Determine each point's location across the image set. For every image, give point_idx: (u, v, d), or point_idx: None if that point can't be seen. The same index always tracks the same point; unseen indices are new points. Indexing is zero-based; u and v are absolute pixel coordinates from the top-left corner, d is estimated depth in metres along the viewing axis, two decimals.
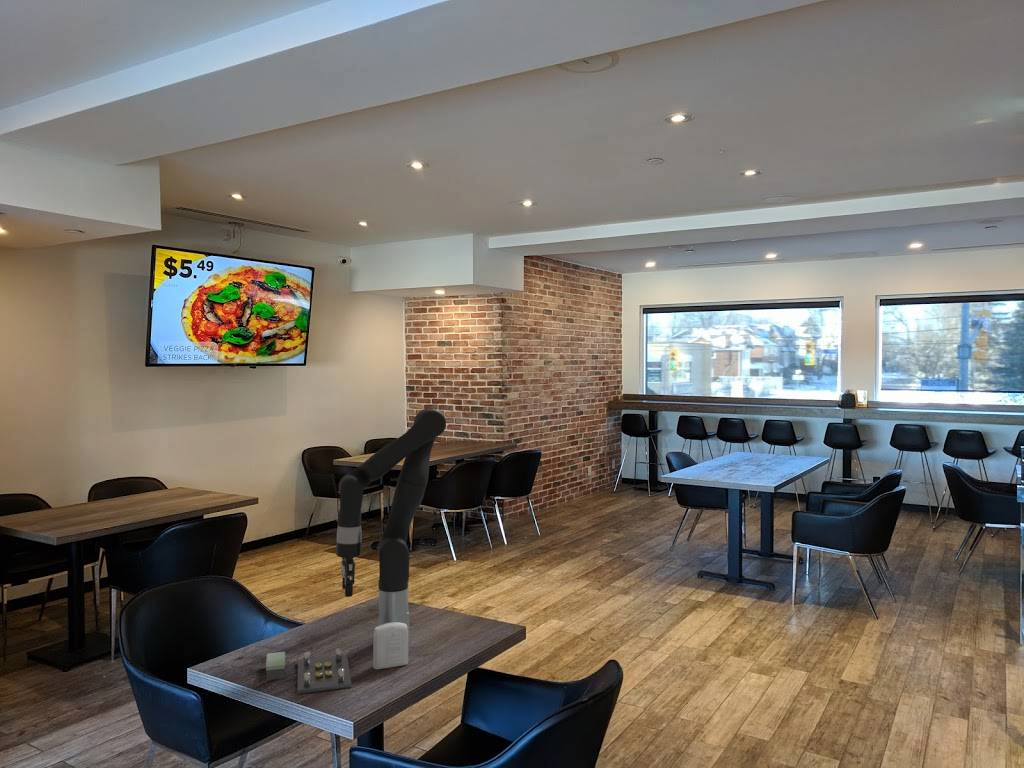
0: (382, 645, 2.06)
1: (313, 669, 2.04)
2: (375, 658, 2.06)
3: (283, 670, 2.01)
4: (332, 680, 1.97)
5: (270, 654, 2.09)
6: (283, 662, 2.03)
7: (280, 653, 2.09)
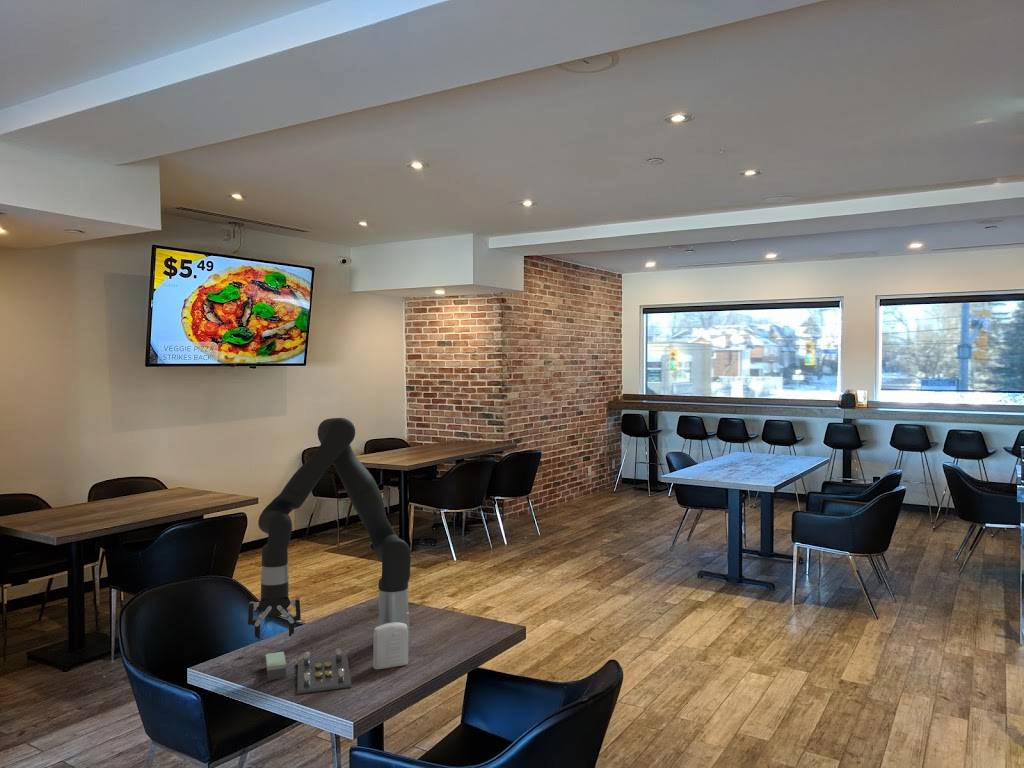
0: (382, 645, 2.06)
1: (313, 669, 2.04)
2: (375, 658, 2.06)
3: (284, 670, 2.02)
4: (332, 680, 1.97)
5: (269, 654, 2.08)
6: (284, 662, 2.03)
7: (279, 653, 2.09)
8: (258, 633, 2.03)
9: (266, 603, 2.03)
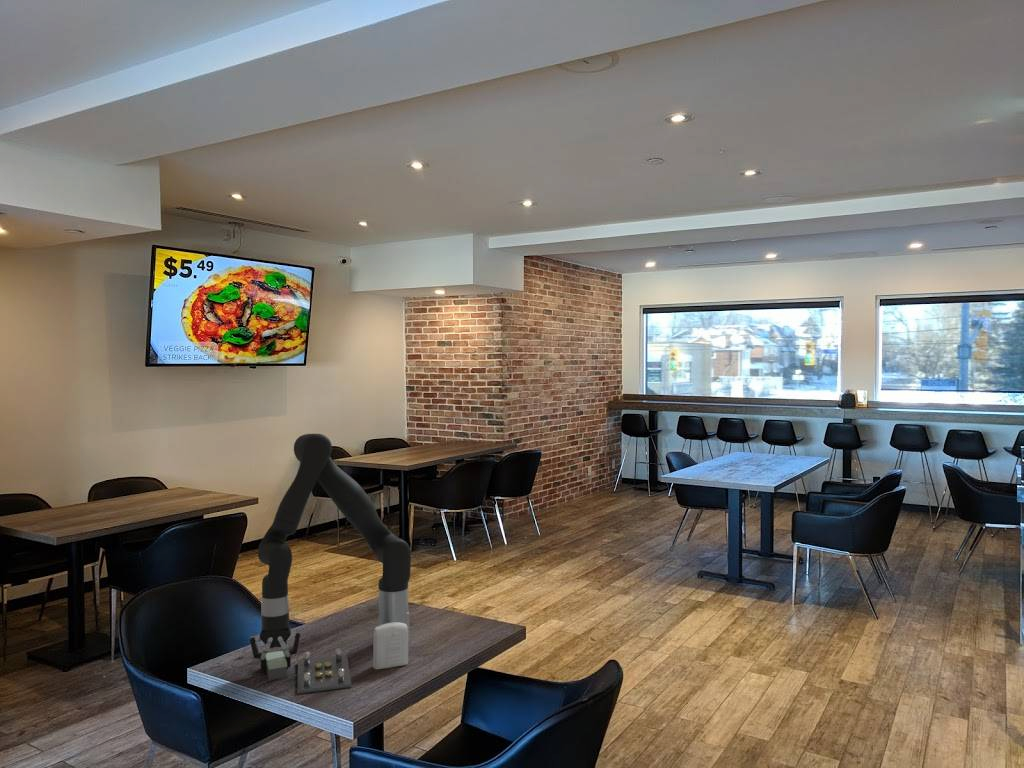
0: (382, 645, 2.06)
1: (313, 669, 2.04)
2: (375, 658, 2.06)
3: (285, 668, 2.02)
4: (332, 680, 1.97)
5: (268, 654, 2.08)
6: (284, 661, 2.03)
7: (279, 652, 2.09)
8: (264, 666, 2.03)
9: (266, 634, 2.03)
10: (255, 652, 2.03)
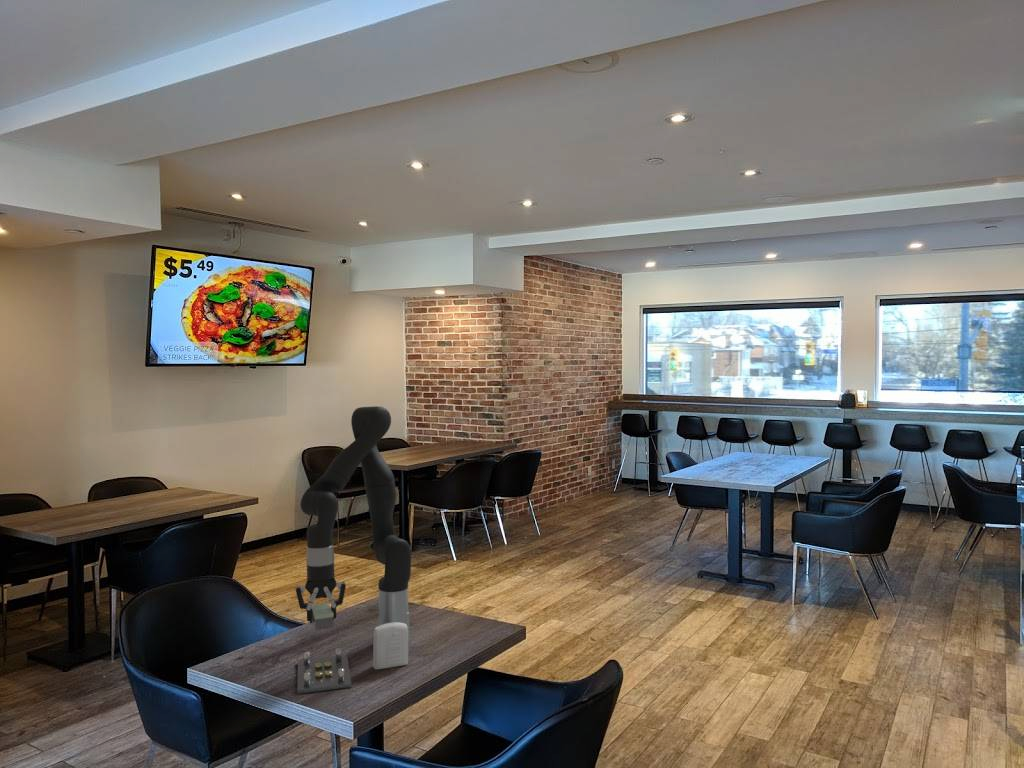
0: (382, 645, 2.06)
1: (313, 669, 2.04)
2: (375, 658, 2.06)
3: (332, 619, 2.00)
4: (332, 680, 1.97)
5: (313, 605, 2.06)
6: (331, 611, 2.01)
7: (324, 604, 2.07)
8: (310, 617, 2.01)
9: (312, 584, 2.01)
10: (301, 602, 2.01)
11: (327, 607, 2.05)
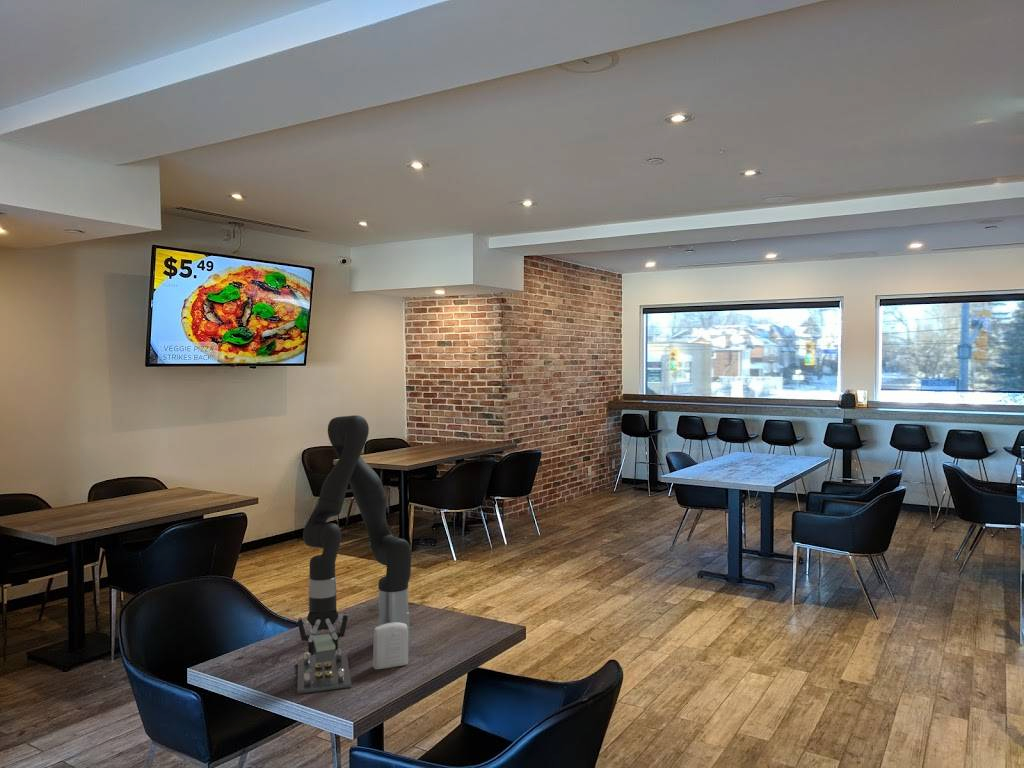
0: (382, 645, 2.06)
1: (313, 669, 2.04)
2: (375, 658, 2.06)
3: (333, 651, 2.00)
4: (332, 680, 1.97)
5: (315, 636, 2.06)
6: (332, 643, 2.01)
7: (325, 635, 2.07)
8: (312, 649, 2.01)
9: (314, 616, 2.01)
10: (303, 634, 2.00)
11: (329, 639, 2.04)
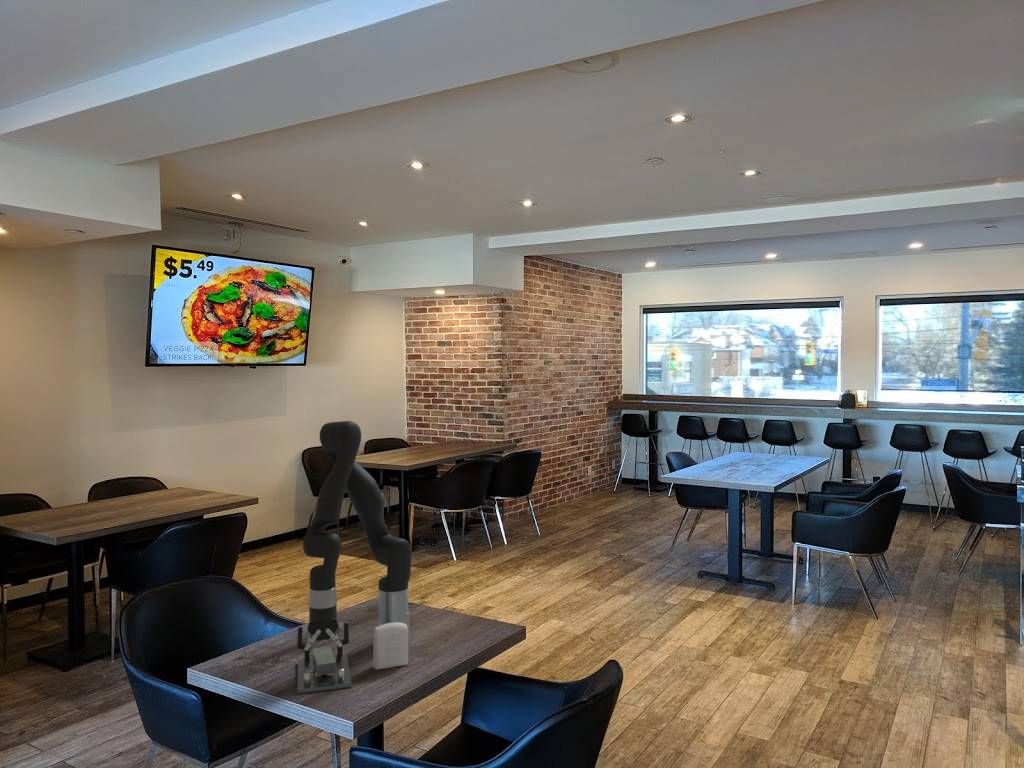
0: (382, 645, 2.06)
1: (313, 669, 2.04)
2: (375, 658, 2.06)
3: (333, 664, 1.99)
4: (332, 680, 1.97)
5: (316, 649, 2.06)
6: (333, 656, 2.01)
7: (326, 648, 2.07)
8: (308, 657, 2.01)
9: (315, 626, 2.01)
10: (300, 643, 2.00)
11: (329, 651, 2.04)
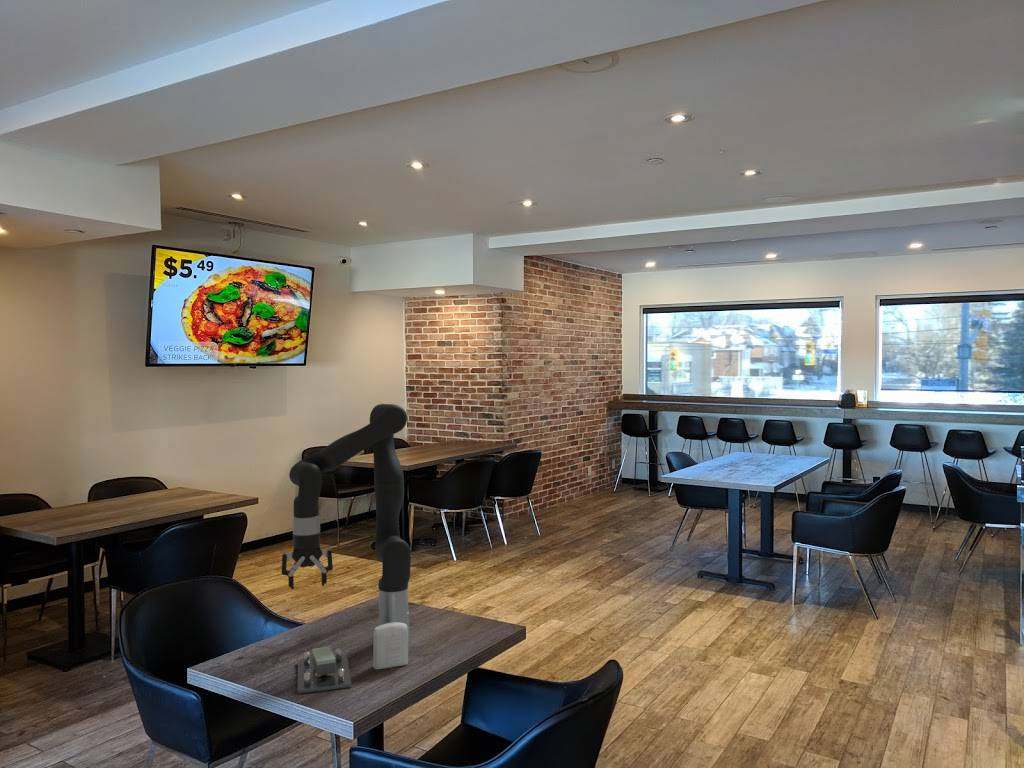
0: (382, 645, 2.06)
1: (313, 669, 2.04)
2: (375, 658, 2.06)
3: (333, 664, 1.99)
4: (332, 680, 1.97)
5: (316, 649, 2.06)
6: (333, 656, 2.01)
7: (326, 648, 2.07)
8: (292, 583, 2.07)
9: (299, 554, 2.07)
10: (284, 569, 2.06)
11: (329, 651, 2.04)
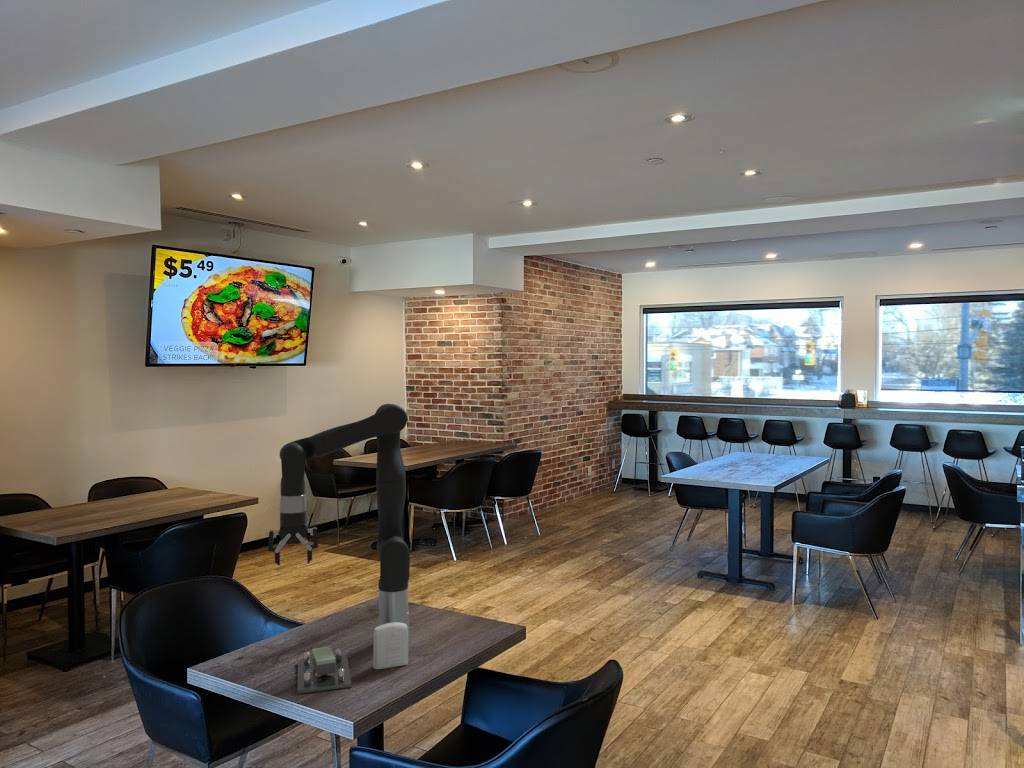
0: (382, 645, 2.06)
1: (313, 669, 2.04)
2: (375, 658, 2.06)
3: (333, 664, 1.99)
4: (332, 680, 1.97)
5: (316, 649, 2.06)
6: (333, 656, 2.01)
7: (326, 648, 2.07)
8: (278, 559, 2.14)
9: (285, 531, 2.14)
10: (270, 545, 2.13)
11: (329, 651, 2.04)
